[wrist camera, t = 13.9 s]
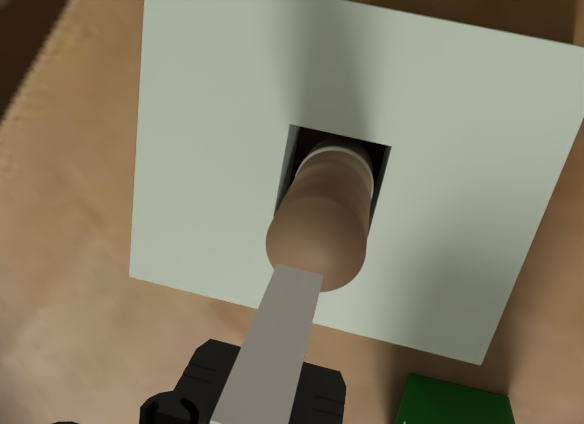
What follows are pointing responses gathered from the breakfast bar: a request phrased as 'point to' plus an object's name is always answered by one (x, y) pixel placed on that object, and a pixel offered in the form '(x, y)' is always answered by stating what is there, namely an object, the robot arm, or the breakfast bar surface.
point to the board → (361, 125)
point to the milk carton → (450, 404)
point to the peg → (326, 213)
